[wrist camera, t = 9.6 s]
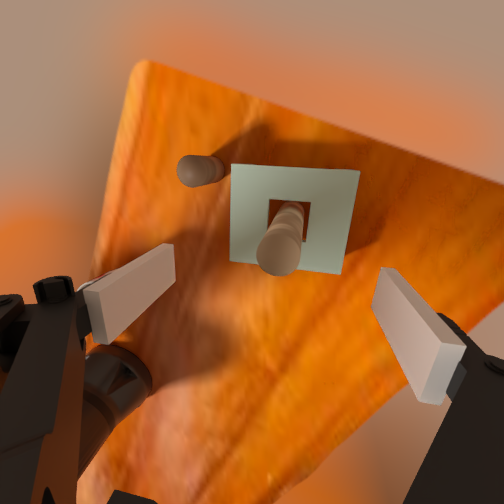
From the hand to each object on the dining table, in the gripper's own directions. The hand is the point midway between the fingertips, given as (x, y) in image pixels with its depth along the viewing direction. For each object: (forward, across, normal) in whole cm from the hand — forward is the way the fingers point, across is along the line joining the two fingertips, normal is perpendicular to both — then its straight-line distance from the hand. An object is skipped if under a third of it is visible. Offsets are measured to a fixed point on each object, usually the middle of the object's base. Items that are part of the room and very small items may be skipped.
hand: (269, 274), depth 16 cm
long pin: (+19, +1, 0) cm, 19 cm away
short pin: (+20, -10, +5) cm, 23 cm away
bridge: (+20, +1, 0) cm, 20 cm away
